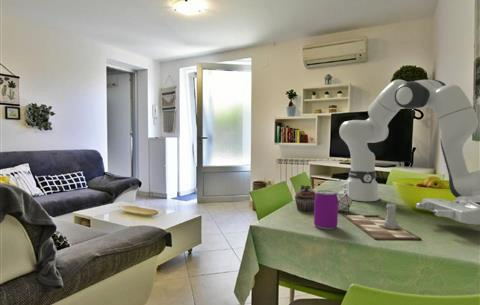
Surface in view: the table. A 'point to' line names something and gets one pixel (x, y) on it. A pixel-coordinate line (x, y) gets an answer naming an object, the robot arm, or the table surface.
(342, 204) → the game die
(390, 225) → the rook chess piece
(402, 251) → the table surface
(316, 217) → the beverage can
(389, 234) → the board
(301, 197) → the cupcake
